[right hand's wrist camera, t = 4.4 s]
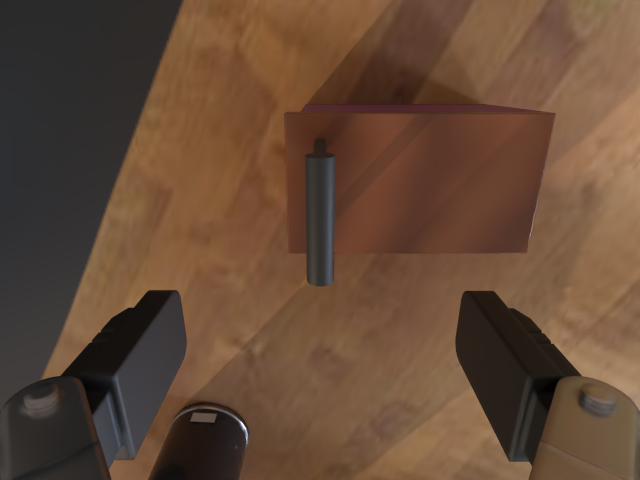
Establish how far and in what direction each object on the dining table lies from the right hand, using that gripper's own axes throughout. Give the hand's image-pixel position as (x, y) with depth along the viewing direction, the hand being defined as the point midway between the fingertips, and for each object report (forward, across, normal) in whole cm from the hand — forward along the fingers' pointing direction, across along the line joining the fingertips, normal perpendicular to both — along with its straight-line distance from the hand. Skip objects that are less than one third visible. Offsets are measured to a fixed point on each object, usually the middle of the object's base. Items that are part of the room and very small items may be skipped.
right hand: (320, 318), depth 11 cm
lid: (+17, -6, 0) cm, 18 cm away
